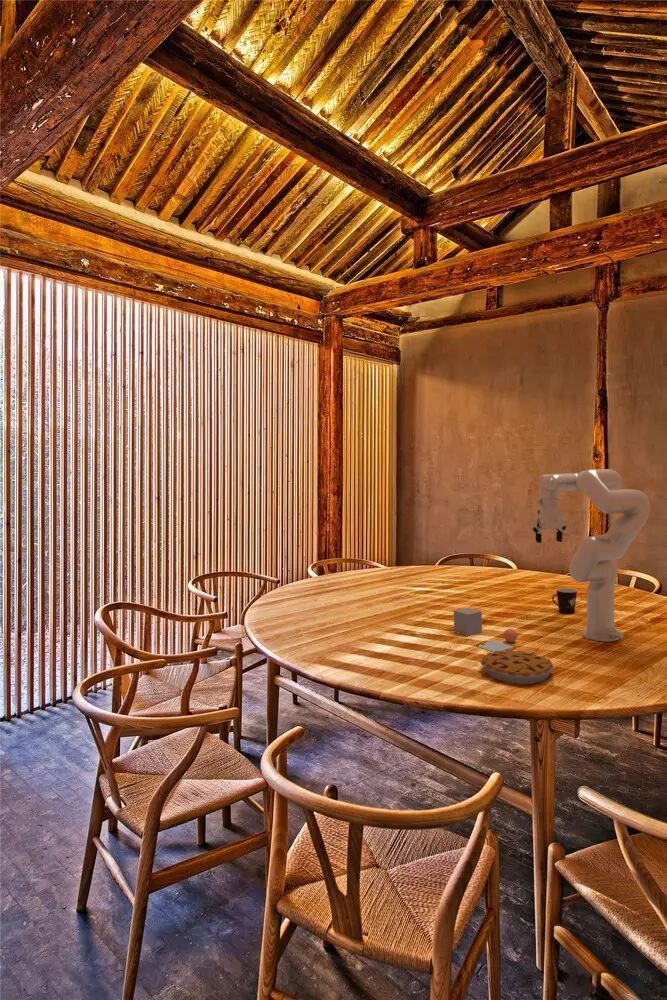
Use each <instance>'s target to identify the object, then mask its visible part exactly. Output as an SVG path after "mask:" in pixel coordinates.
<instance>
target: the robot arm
mask: <svg viewBox="0 0 667 1000" xmlns="http://www.w3.org/2000/svg"><path fill="white" fill-rule="evenodd" d="M538 482H539V483H538V484H539V500H537V501H536V503H537V504H539V505H538V506H537V512H536V520H533V521H532V522H530V523H529V526H530V528H531V530H532V531H533V532H534V534H535V542H536V543H538V544H541V543H542V541H543V540H542V531H544V530H556V533H555V535H556V537H555V538H556V542H558V543H562V542H563V533H564V532H565V530H566V529H567V526H568V523H569V522H568V521H567V520H565V519H563V514H562V508H561V505H559V493H560V492H582V493H584V494H585V495H586V496H587V498H588V499H589V500H590V501H591V502H592V503H593V505H594V506H595V507H596V508H597V510H599V511H600V512H601V513H603V514H608V515H615V514H622V515H620V516H619V517H618V518H617V519H616V520H614V522H612V524H611V525H610V527H609V528H608V529H607V530H608V531H607V532H606V533H604V534H599V535H596V534H595V535H590V536H588V537H586V538H585V539H583V540H582V542H581V543H580V545H579V546H578V548H577V549H576V552H575V553H574V555H573V557H572V559H571V561H570V563H569V567H568V569H569V571H568V572H569V574H570V577H571V578H572V580H575V581H576V582H578V583H587V582H589V583H588V585H587V587H586V629H585V630H583V631H582V633H581V635H582V637H584V638H585V639H587V640H591V641H594V642H603V643H605V642H607V643H609V642H615V641H618V640H619V639H623V638H624V635H625V634H624V632H622V631H618V627H617V626H615V584H616V579H617V575H618V564H617V562H616V561H615V560H619V559H621V558H622V557H623V556H624V555H625V553H626V552H627V551H628V549H629V547H630V545H631V544H632V543H633V541H634V539H635V537H636V536H637V534H638V533H639V532H640V531H641V529H642V528H643V526H644V525H645V524H647V523H646V522H647V521H648V519H649V518H650V517H649V516H650V514H651V502H650V500H649V497H648V495H647V494H646V493H645V492H643V491H641V490H638V489H629V488H627V489H625V488H624V489H618V488H619V487H620V486H621V484H622V476H621V474H620V473H619V472H618V471H616V470H614V469H610V468H605V469H604V468H603V469H602V468H601V469H599V468H598V469H597V468H595V469H587V470H583V471H580V472H576V473H573V472H571V473H549V474H548V473H546V474H545V473H543V474H541V475H540V476H539V481H538Z"/></svg>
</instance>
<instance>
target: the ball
mask: <svg viewBox="0 0 667 1000" xmlns="http://www.w3.org/2000/svg"><path fill="white" fill-rule="evenodd" d="M503 638H504V640H505V641H506V642H507V643H514V642H516V641H517V639H518V633H517V631H516V630H515V629H513V628H507V629H505V630H504V632H503Z"/></svg>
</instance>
